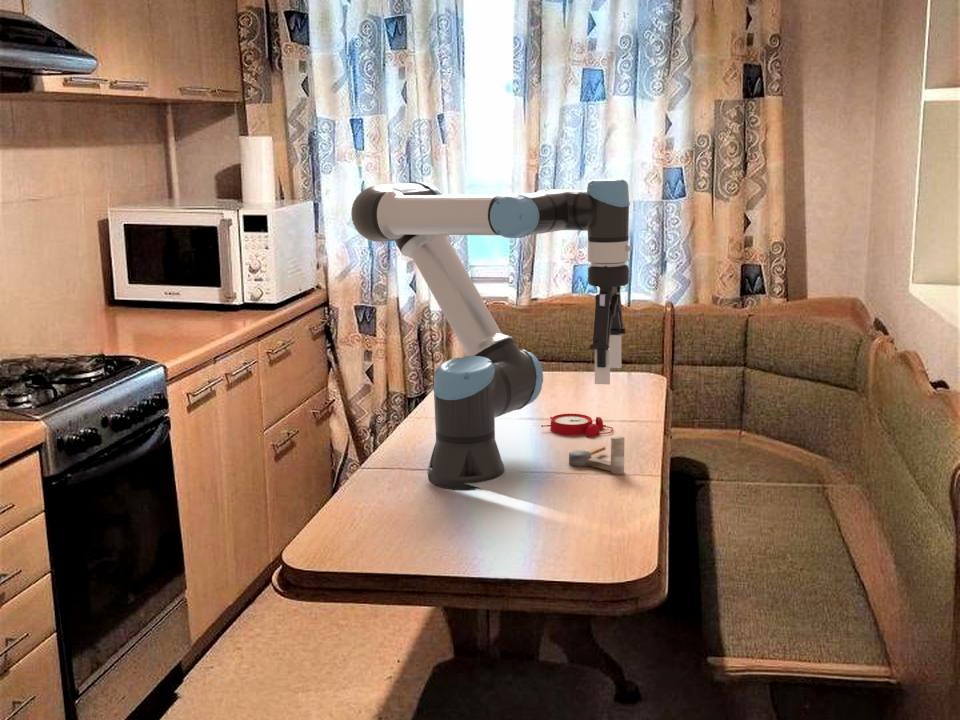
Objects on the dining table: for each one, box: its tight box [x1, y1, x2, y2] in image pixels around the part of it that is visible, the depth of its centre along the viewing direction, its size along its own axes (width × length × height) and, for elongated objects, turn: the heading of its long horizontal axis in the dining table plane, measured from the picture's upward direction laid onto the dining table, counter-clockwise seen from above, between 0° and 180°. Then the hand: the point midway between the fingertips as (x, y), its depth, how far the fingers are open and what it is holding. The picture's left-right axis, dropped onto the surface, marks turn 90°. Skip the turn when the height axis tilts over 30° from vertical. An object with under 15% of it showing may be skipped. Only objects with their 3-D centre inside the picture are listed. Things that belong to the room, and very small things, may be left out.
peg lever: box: [568, 435, 625, 476], centre depth 204 cm, size 12×10×7 cm
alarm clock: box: [540, 413, 614, 438], centre depth 228 cm, size 10×6×15 cm
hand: (608, 375), depth 194 cm, fingers open, 13 cm apart
